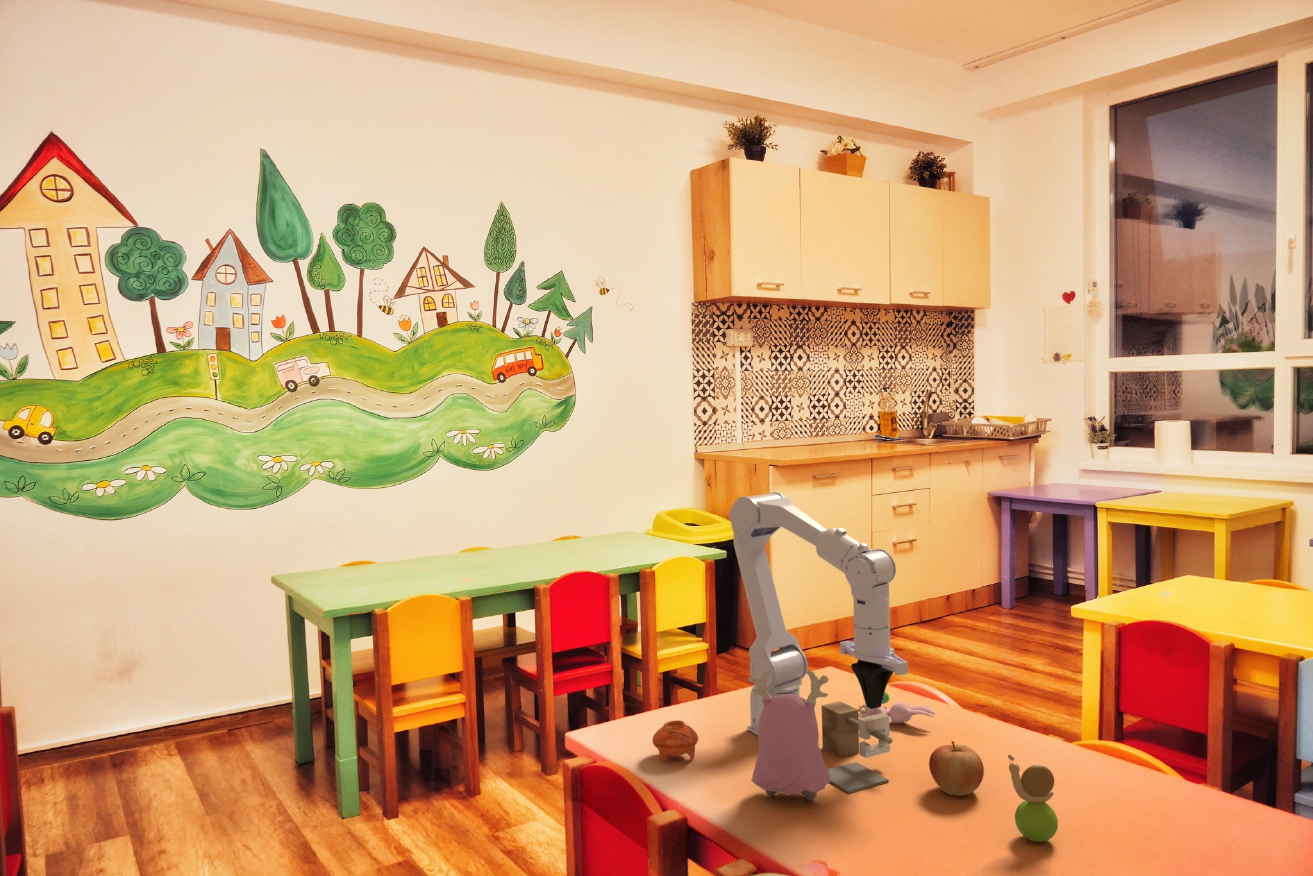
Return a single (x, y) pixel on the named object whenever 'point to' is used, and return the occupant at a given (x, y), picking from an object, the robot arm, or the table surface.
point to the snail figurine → (1034, 802)
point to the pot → (675, 740)
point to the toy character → (789, 742)
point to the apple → (956, 769)
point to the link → (871, 725)
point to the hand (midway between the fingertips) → (873, 706)
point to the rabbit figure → (896, 711)
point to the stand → (843, 729)
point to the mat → (855, 777)
